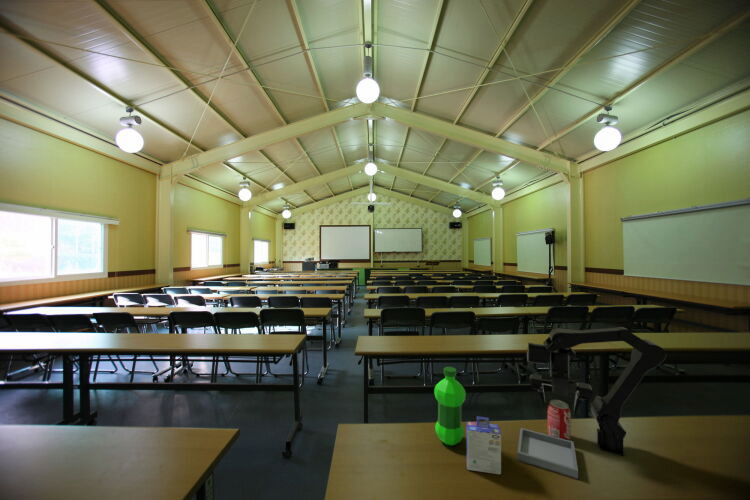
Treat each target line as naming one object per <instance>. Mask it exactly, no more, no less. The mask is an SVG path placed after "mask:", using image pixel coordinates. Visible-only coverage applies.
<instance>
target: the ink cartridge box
mask: <svg viewBox="0 0 750 500" xmlns="http://www.w3.org/2000/svg"><path fill="white" fill-rule="evenodd" d="M481 420H483V421H486V422H482V421H481ZM466 469H467V470H469V471H473V472H480V473H488V474H494V475H495V474H496V475H501V474H502V432H501V429H500V426H499V424H495V423H490V418H489V417H488V416H487V417H485V416H479V415H478V416H476V422H475V421H466Z"/></svg>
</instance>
